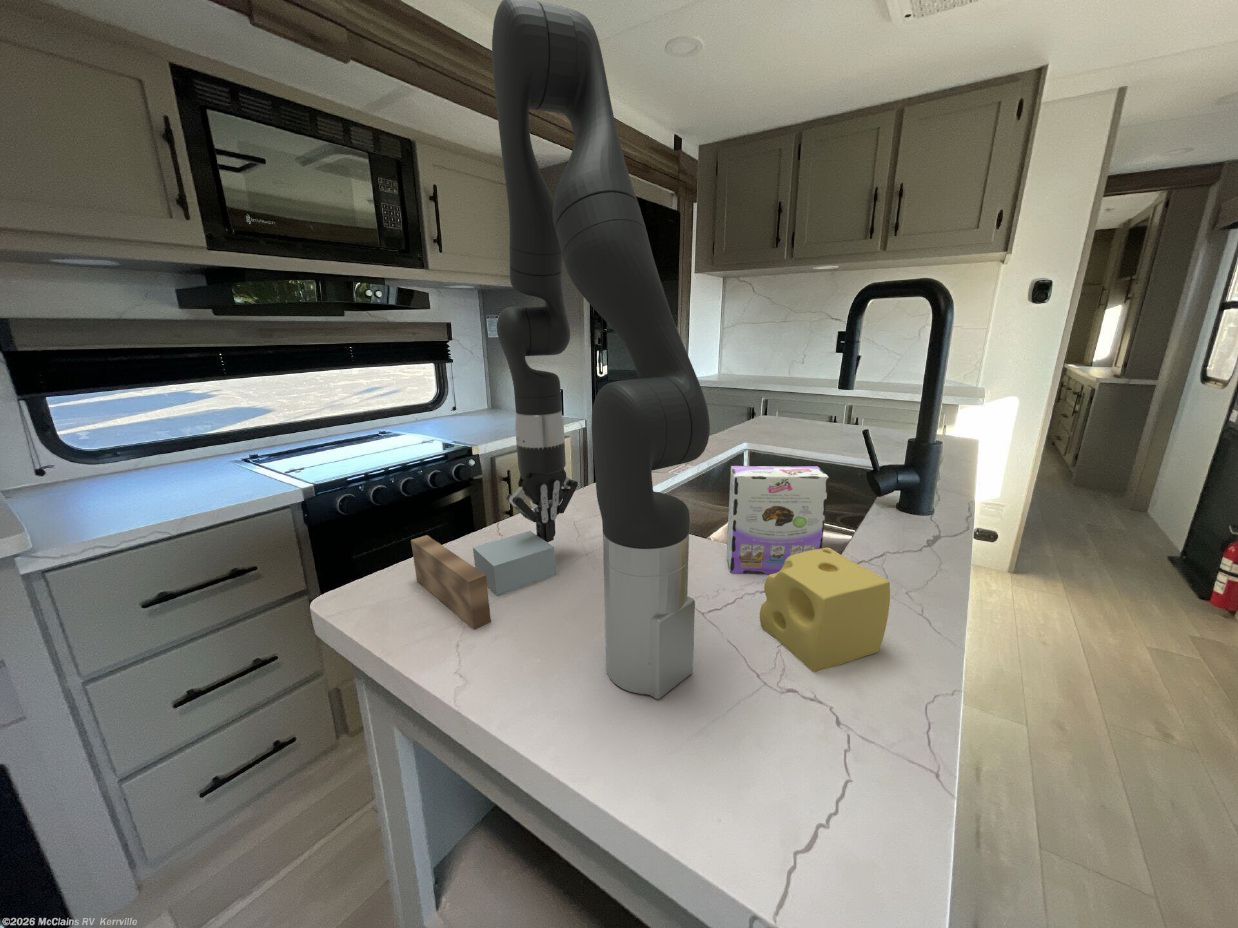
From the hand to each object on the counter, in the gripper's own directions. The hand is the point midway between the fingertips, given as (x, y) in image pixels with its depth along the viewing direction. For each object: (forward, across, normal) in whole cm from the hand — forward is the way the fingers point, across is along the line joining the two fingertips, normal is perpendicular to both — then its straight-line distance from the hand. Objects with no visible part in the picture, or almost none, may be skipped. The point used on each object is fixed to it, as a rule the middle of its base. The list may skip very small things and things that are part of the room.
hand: (546, 540), depth 83 cm
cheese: (+4, +11, -42) cm, 44 cm away
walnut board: (+4, -18, 0) cm, 18 cm away
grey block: (+4, -7, -1) cm, 8 cm away
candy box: (+4, +24, -28) cm, 37 cm away
